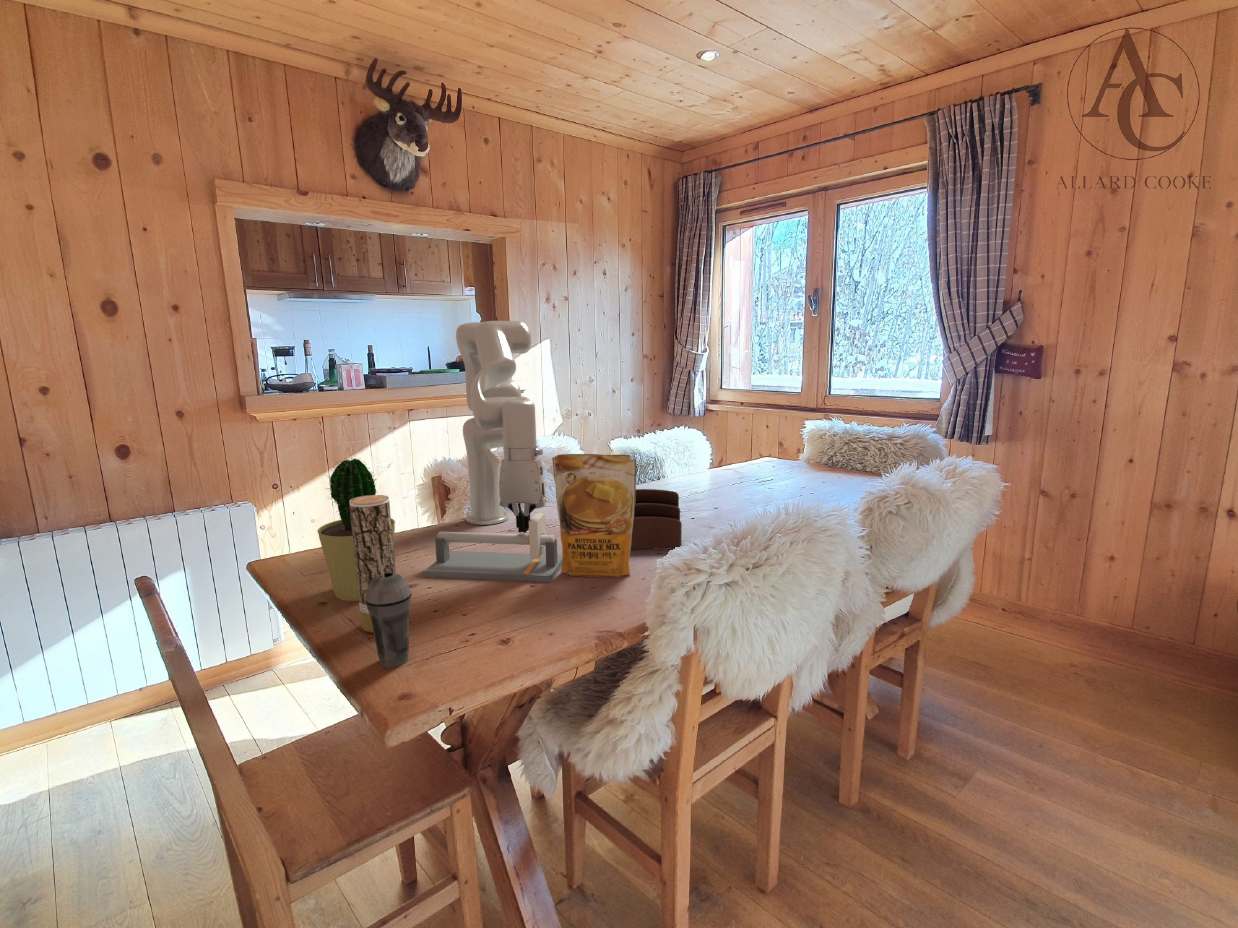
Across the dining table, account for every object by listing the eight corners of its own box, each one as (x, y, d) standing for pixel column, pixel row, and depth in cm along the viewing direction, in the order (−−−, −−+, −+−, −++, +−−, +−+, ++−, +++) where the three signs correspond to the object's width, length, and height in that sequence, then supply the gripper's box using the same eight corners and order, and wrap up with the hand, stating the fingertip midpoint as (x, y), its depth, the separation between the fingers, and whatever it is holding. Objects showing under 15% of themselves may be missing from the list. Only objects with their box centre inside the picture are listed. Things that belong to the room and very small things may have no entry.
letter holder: (606, 538, 168) (605, 488, 165) (678, 537, 168) (678, 488, 165) (605, 550, 158) (604, 497, 156) (681, 549, 158) (682, 497, 155)
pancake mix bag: (559, 566, 147) (555, 451, 142) (637, 568, 145) (637, 452, 139) (552, 576, 140) (548, 457, 135) (634, 579, 138) (634, 458, 133)
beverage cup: (424, 660, 103) (415, 548, 100) (382, 676, 98) (371, 559, 95) (404, 646, 109) (395, 538, 105) (363, 661, 103) (352, 548, 100)
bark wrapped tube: (387, 635, 112) (375, 504, 108) (354, 632, 114) (341, 503, 109) (406, 619, 119) (396, 495, 114) (375, 617, 120) (363, 494, 115)
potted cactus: (391, 572, 144) (380, 447, 138) (408, 594, 131) (396, 457, 126) (320, 586, 136) (305, 454, 130) (330, 611, 123) (314, 466, 117)
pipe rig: (449, 556, 155) (447, 523, 153) (565, 560, 151) (563, 526, 149) (424, 576, 141) (422, 540, 139) (551, 582, 137) (549, 544, 135)
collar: (538, 549, 147) (537, 513, 145) (546, 549, 147) (545, 513, 145) (530, 558, 140) (528, 521, 139) (538, 559, 140) (537, 521, 138)
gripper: (556, 451, 142) (558, 527, 146) (494, 450, 144) (498, 525, 148) (547, 457, 135) (550, 536, 138) (483, 456, 137) (487, 534, 140)
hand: (523, 530), depth 143 cm, fingers closed
